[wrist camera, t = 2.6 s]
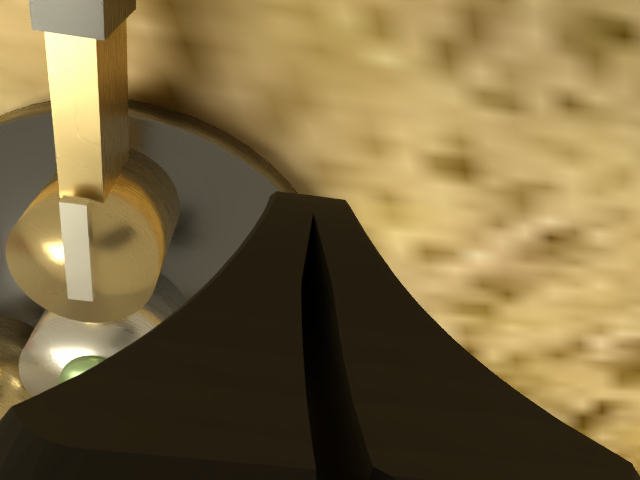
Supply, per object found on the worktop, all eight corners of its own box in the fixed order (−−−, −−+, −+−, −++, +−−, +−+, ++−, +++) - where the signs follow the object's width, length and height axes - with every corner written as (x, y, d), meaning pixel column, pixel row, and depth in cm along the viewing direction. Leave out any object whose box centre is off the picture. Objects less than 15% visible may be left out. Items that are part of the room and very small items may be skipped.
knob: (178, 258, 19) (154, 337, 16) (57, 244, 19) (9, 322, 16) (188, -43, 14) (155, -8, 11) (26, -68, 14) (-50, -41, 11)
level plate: (385, 370, 24) (398, 471, 20) (75, 456, 26) (35, 559, 23) (224, 23, 16) (197, 80, 13) (-182, 191, 19) (-302, 279, 15)
